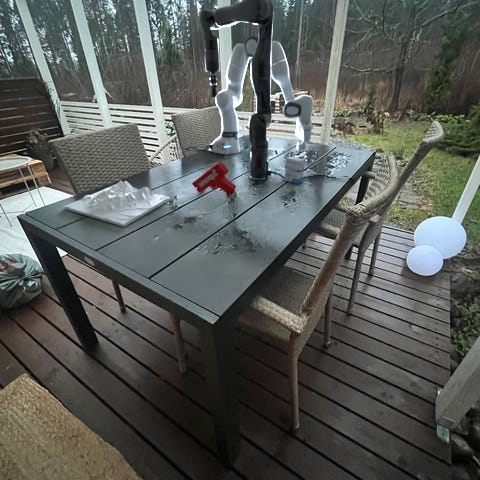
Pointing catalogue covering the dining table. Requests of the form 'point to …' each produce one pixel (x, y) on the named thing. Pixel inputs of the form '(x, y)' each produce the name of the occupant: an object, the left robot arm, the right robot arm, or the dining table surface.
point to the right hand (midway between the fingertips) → (214, 96)
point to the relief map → (118, 203)
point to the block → (300, 146)
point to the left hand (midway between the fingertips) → (301, 146)
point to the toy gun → (215, 180)
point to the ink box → (294, 170)
